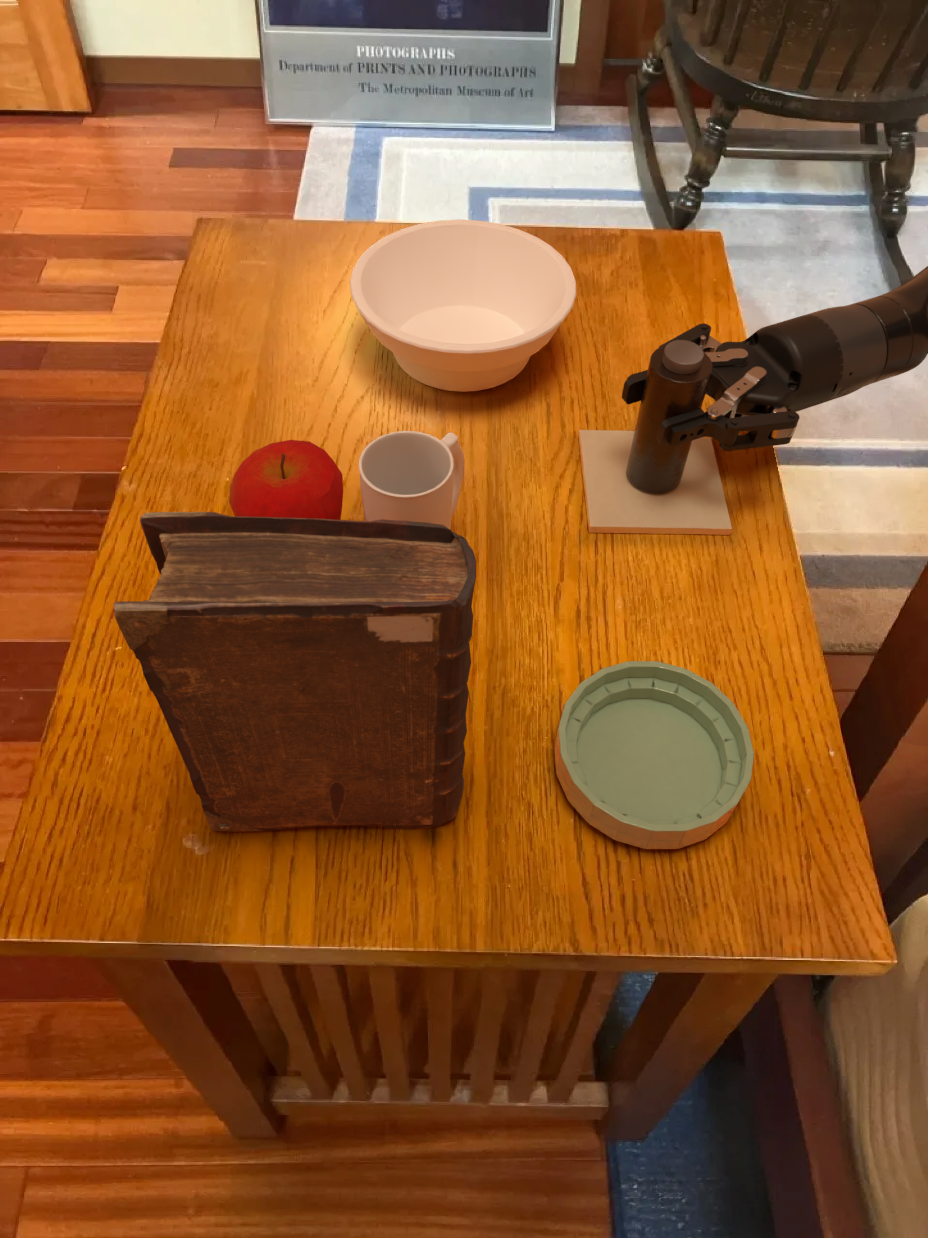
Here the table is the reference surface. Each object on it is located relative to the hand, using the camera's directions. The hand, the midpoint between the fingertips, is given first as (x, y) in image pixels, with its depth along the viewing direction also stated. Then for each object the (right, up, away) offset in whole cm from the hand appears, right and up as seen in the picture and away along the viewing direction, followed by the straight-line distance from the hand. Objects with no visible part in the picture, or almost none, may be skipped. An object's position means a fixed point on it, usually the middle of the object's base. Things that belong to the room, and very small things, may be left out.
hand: (643, 412), depth 74 cm
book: (-23, -29, -11) cm, 38 cm away
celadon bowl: (-2, -27, -9) cm, 28 cm away
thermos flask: (+2, -4, +7) cm, 8 cm away
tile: (+2, -5, +8) cm, 9 cm away
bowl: (-15, +10, +18) cm, 25 cm away
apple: (-28, -12, +2) cm, 30 cm away
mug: (-18, -12, +2) cm, 21 cm away
